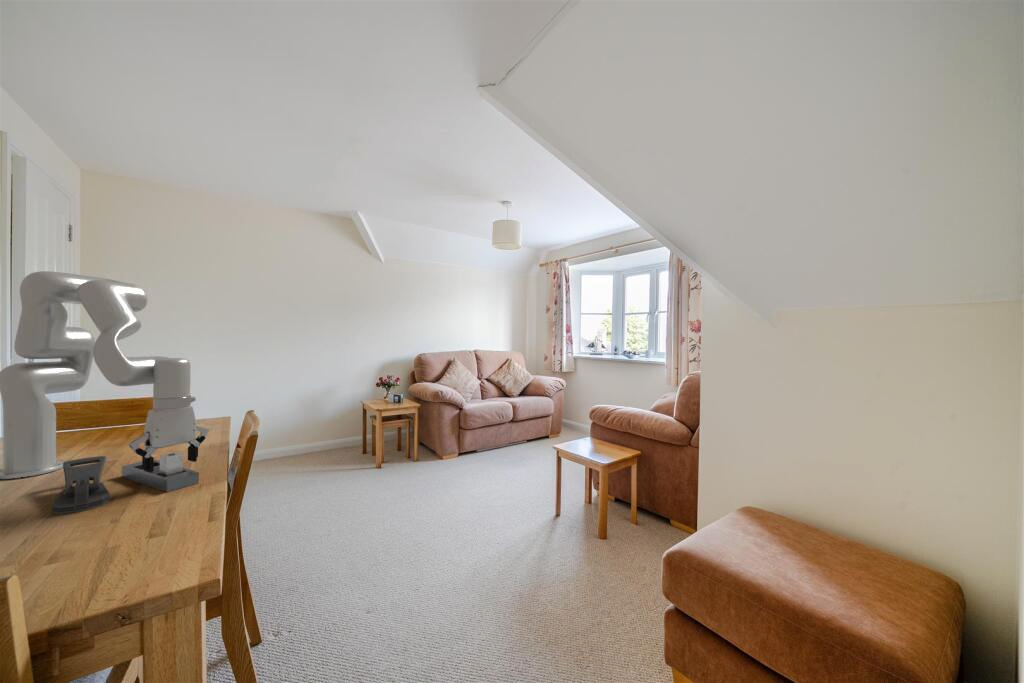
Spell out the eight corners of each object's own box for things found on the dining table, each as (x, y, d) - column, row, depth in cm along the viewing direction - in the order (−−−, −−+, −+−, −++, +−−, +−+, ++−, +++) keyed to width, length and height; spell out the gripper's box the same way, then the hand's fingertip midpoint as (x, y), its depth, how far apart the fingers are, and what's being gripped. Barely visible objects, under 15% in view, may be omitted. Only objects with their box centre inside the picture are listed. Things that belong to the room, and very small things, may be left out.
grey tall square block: (159, 484, 104) (159, 455, 103) (175, 480, 107) (175, 451, 107) (166, 487, 102) (166, 457, 102) (182, 482, 105) (183, 453, 105)
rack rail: (121, 476, 109) (122, 465, 109) (153, 469, 115) (153, 458, 115) (167, 492, 99) (167, 480, 99) (198, 483, 105) (198, 472, 105)
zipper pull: (108, 454, 108) (109, 478, 91) (108, 477, 108) (109, 505, 91) (59, 461, 101) (50, 488, 84) (59, 486, 101) (50, 518, 84)
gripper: (200, 398, 114) (200, 455, 114) (122, 407, 98) (122, 473, 98) (215, 400, 110) (215, 459, 111) (137, 410, 95) (136, 478, 95)
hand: (171, 466), depth 104 cm, fingers open, 9 cm apart
